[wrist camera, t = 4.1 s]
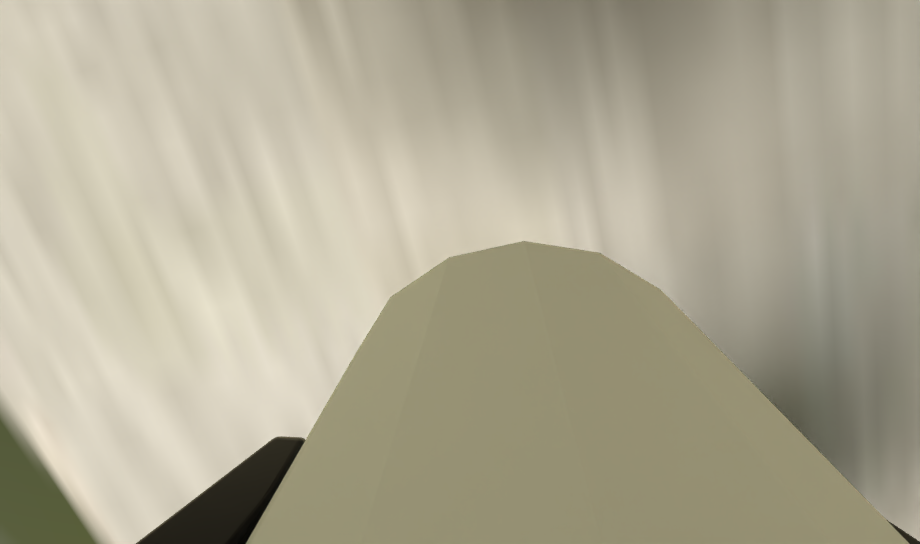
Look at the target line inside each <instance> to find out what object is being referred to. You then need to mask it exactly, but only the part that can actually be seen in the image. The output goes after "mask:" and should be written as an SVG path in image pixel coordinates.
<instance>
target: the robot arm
mask: <svg viewBox="0 0 920 544" xmlns="http://www.w3.org/2000/svg"><path fill="white" fill-rule="evenodd" d="M304 442H305V439H304V438H301V437H282V436H281V437H276V438H274V439H272V440H271V441H270V442H268V443H267V444H266V445H264V446H263V447H262V448H260V449H259V450H258V451H256V452H255V453H254V454H252V455H251V456H250V457H249V458H247V459H246V460H245V461H243V462H242V463H241V464H239V465H238V466H237V467H235V468H234V469H233V470H232V471H230V472H229V473H228V474H226V475H225V476H224V477H222V478H221V479H220V480H218V481H217V482H216V483H215V484H213V485H212V486H211V487H209V488H208V489H207V490H205V491H204V492H203V493H201V494H200V495H199V496H198V497H196V498H195V499H194V500H192V501H191V502H190V503H188V504H187V505H186V506H184V507H183V508H182V509H181V510H179V511H178V512H177V513H175V514H174V515H173V516H171V517H170V518H169V519H167V520H166V521H165V522H163V523H162V524H161V525H160V526H158V527H157V528H156V529H154V530H153V531H152V532H150V533H149V534H148V535H146V536H145V537H144V538H143V539H141V540H140V541H139V542H137V543H136V544H246V542H247V541H248V539H249V537H250V535H251V534H252V532H253V530H254V529H255V527H256V525H257V523H258V522H259V520H260V518H261V516H262V515H263V513H264V511H265V510H266V508H267V506H268V504H269V503H270V501H271V499H272V497H273V496H274V494H275V492H276V490H277V489H278V487H279V485H280V484H281V482H282V480H283V478H284V477H285V475H286V473H287V471H288V470H289V468H290V466H291V465H292V463H293V461H294V459H295V458H296V456H297V454H298V452H299V451H300V449H301V447H302V446H303V444H304ZM887 521H888V520H887ZM888 522H889V521H888ZM889 523H890V524H891V525H892V526H893V527H894V528H895V529H896V530H897V531H898V532H899V533H900V535H901V536H902V537H903V538H904V539H905V540H906V541H907V542H908V543H909V544H920V542H919V541H918V540H916V539H915V538H913V537H912V536H910V535H909V534H907V533H906V532H904V531H903V530H901V529H900V528H898V527H897V526H895V525H894V524H892V523H891V522H889Z"/></svg>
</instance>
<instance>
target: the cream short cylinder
mask: <svg viewBox="0 0 920 544" xmlns="http://www.w3.org/2000/svg"><path fill="white" fill-rule="evenodd" d="M246 544H909V543H908V542H907V541H906V540H905V539H904V538H903V537H902V536H901V535H900V533H899V532H898V531H897V530H896V529H895V528H894V527H893V526H892V525H891V524H890V523H889V522H888V521H887V520H886V519H885V518H884V517H883V516H882V515H881V514H880V513H879V512H878V511H877V510H876V509H875V508H874V507H873V506H872V505H871V504H870V503H869V502H868V501H867V500H866V499H865V498H864V497H863V496H862V495H861V494H860V493H859V492H858V491H857V490H856V489H855V488H854V487H853V486H852V484H851V483H850V482H849V481H848V480H847V479H846V478H845V477H844V476H843V475H842V474H841V473H840V472H839V471H838V470H837V469H836V468H835V467H834V466H833V465H832V464H831V463H830V462H829V461H828V460H827V459H826V458H825V457H824V456H823V455H822V454H821V453H820V452H819V451H818V450H817V449H816V448H815V447H814V446H813V445H812V444H811V443H810V442H809V441H808V440H807V439H806V438H805V437H804V436H803V434H802V433H801V432H800V431H799V430H798V429H797V428H796V427H795V426H794V425H793V424H792V423H791V422H790V421H789V420H788V419H787V418H786V417H785V416H784V415H783V414H782V413H781V412H780V411H779V410H778V409H777V408H776V407H775V406H774V405H773V404H772V403H771V402H770V401H769V400H768V399H767V398H766V397H765V396H764V395H763V394H762V393H761V392H760V391H759V390H758V389H757V388H756V387H755V385H754V384H753V383H752V382H751V381H750V380H749V379H748V378H747V377H746V376H745V375H744V374H743V373H742V372H741V371H740V370H739V369H738V368H737V367H736V366H735V365H734V364H733V363H732V362H731V361H730V360H729V359H728V358H727V357H726V356H725V355H724V354H723V353H722V352H721V351H720V350H719V349H718V348H717V347H716V346H715V345H714V344H713V343H712V342H711V341H710V340H709V339H708V338H707V336H706V335H705V334H704V333H703V332H702V331H701V330H700V329H699V328H698V327H697V326H696V325H695V324H694V323H693V322H692V321H691V320H690V319H689V318H688V317H687V316H686V315H685V314H684V313H683V312H682V311H681V310H680V309H679V308H678V307H677V306H676V305H675V304H674V303H673V302H672V301H671V300H670V299H669V298H668V297H667V296H666V295H665V294H664V293H663V292H662V291H661V290H660V289H659V288H657V287H655V286H654V285H652V284H650V283H649V282H647V281H645V280H644V279H642V278H640V277H639V276H637V275H635V274H634V273H632V272H630V271H629V270H627V269H625V268H624V267H622V266H621V265H619V264H617V263H616V262H614V261H612V260H611V259H609V258H607V257H606V256H604V255H602V254H601V253H597V252H591V251H584V250H578V249H571V248H565V247H558V246H552V245H545V244H539V243H532V242H526V241H522V242H518V243H513V244H509V245H504V246H500V247H495V248H490V249H486V250H481V251H477V252H472V253H468V254H463V255H458V256H454V257H449V258H448V259H446V260H445V261H443V262H442V263H440V264H439V265H437V266H436V267H434V268H433V269H431V270H430V271H429V272H427V273H426V274H424V275H423V276H421V277H420V278H418V279H417V280H415V281H414V282H412V283H411V284H409V285H408V286H406V287H405V288H403V289H402V290H401V291H399V292H398V293H396V294H395V295H393V296H392V297H390V299H389V300H388V302H387V304H386V305H385V307H384V309H383V310H382V312H381V313H380V315H379V317H378V318H377V320H376V321H375V323H374V325H373V326H372V328H371V330H370V331H369V333H368V334H367V336H366V338H365V339H364V341H363V342H362V344H361V346H360V347H359V349H358V351H357V352H356V354H355V356H354V357H353V359H352V361H351V363H350V364H349V366H348V368H347V370H346V371H345V373H344V375H343V376H342V378H341V380H340V382H339V383H338V385H337V387H336V389H335V390H334V392H333V394H332V395H331V397H330V399H329V401H328V402H327V404H326V406H325V408H324V409H323V411H322V413H321V414H320V416H319V418H318V420H317V421H316V423H315V425H314V427H313V428H312V430H311V432H310V433H309V435H308V437H307V439H306V440H305V442H304V444H303V446H302V447H301V449H300V451H299V452H298V454H297V456H296V458H295V459H294V461H293V463H292V465H291V466H290V468H289V470H288V471H287V473H286V475H285V477H284V478H283V480H282V482H281V484H280V485H279V487H278V489H277V490H276V492H275V494H274V496H273V497H272V499H271V501H270V503H269V504H268V506H267V508H266V510H265V511H264V513H263V515H262V516H261V518H260V520H259V522H258V523H257V525H256V527H255V529H254V530H253V532H252V534H251V535H250V537H249V539H248V541H247V542H246Z"/></svg>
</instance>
